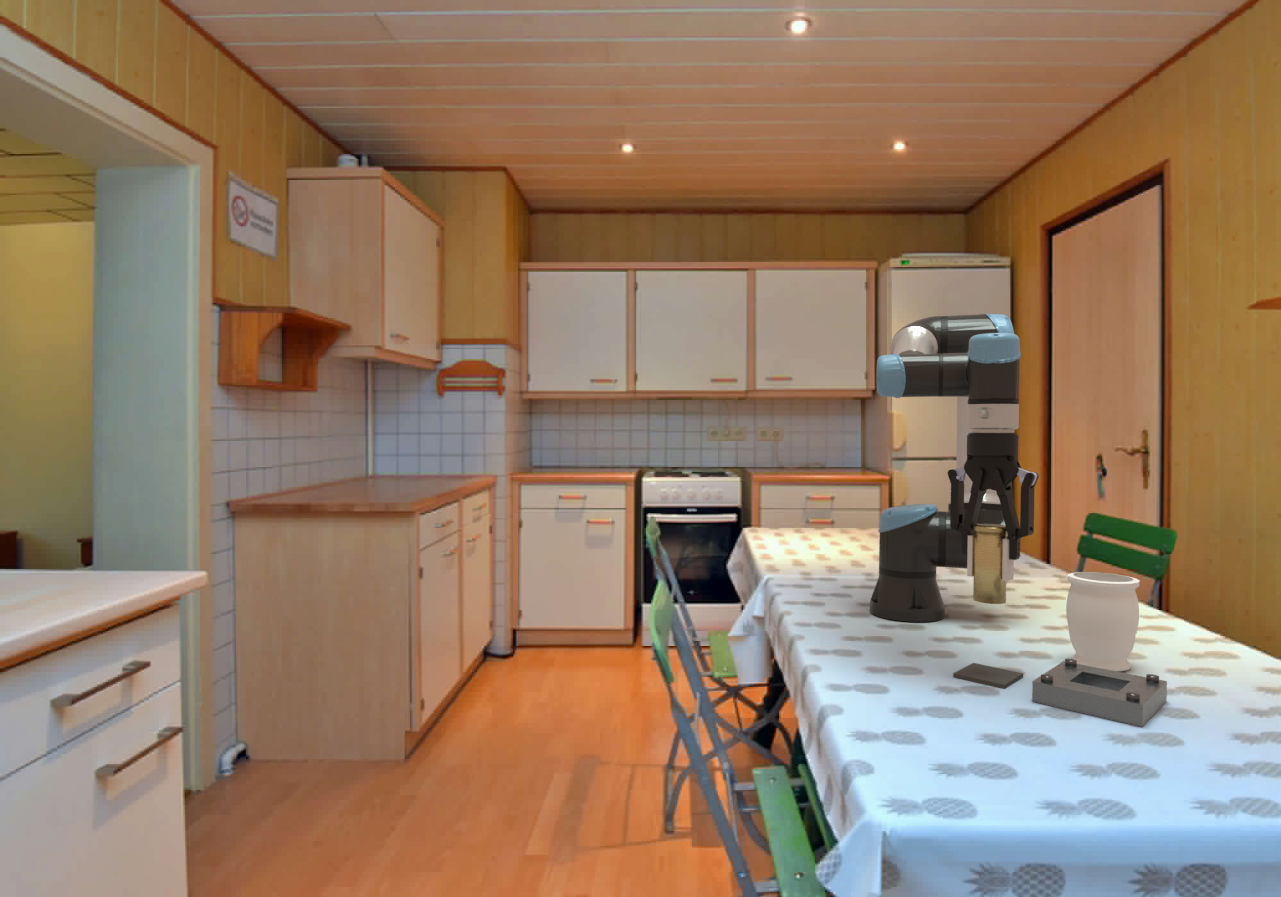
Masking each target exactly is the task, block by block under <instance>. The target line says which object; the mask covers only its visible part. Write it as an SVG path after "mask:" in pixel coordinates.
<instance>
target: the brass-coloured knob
mask: <svg viewBox="0 0 1281 897" xmlns="http://www.w3.org/2000/svg"><path fill="white" fill-rule="evenodd" d="M973 530H974V576H973V597H972V598H973V602H977V603H981V604H990V605H1003V604H1006V603H1007V581H1002V558H1003V539H1006V538H1007V530H1006V526H1005V525H998V524H974V525H973Z"/></svg>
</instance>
